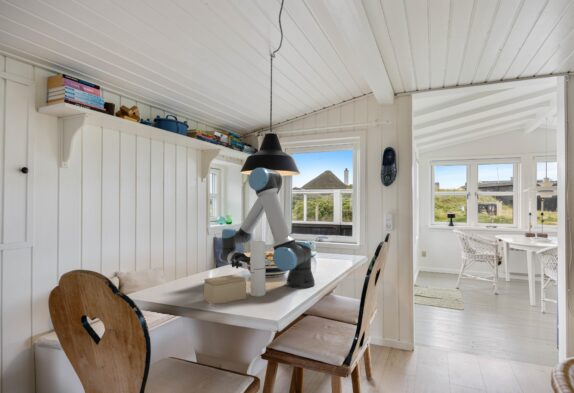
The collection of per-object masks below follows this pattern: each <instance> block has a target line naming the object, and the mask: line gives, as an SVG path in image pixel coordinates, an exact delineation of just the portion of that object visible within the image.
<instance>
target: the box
mask: <svg viewBox="0 0 574 393" xmlns="http://www.w3.org/2000/svg"><path fill="white" fill-rule="evenodd" d="M203 283H204V285H203V291H204V292H203V298H204V301H206V302H208V303H209V304H211V305H213V306H215V305H220V304H224V303H226V304H227V303H231V302H236V301H239V300H245V299H247V280H245V281H239V282H233V283H227V284H221V285H212V284H209V283H207V282H205V281H204V282H203Z"/></svg>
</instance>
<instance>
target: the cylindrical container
mask: <svg viewBox="0 0 574 393" xmlns="http://www.w3.org/2000/svg"><path fill="white" fill-rule="evenodd" d="M249 243H250V244H249V246H250V247H249V248H250V251H249V252H250V255H249V257H250V262H249V263H250V264H249V265H250V268H249V269H250V296H252V297H264V296H266V294H267V293H266V290H267V289H266V265H265V258H266V241H261V240H260V241H259V240H257V241H256V240H254V241H249Z"/></svg>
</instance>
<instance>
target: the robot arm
mask: <svg viewBox="0 0 574 393" xmlns="http://www.w3.org/2000/svg"><path fill="white" fill-rule="evenodd" d="M282 185H283V177H282V176H281V174H280V173H279V171H278V170H277V171H276V170H275V169H269V168H265V167H256V168H255V169H252V171H251V172H250V173H249V176H248V186H249V187H250V189H252V190H254V192H255V194H256V197H257V198H256V200H255V202H254V204H253V205H252V207H251V209H250V211H248V213H247V216H246V217H245V219H244V220H243V223H242V224H241V225H240V227H239V229H238V230H236V228H231V227H230V228H223V229H222V230H221V251H220V252H219V254H218V258H219V260H220V262H222V263H223V264H226V265H230V266H231V267H232V268H235V269H239V268H241V269H244V270H246V269H248V265H250V256H247V255H246V254H245V253H244V252H240V251H238V250H236V247H237V246H236V245H241V244H246V243H250V242H251V240H252V238H253V234H252V233H253V232H254V230H255V229H256V227H257V225H258V223H259V222H260V220H261V219H262V217H263V216H264V213H265V216H266V219H267V223H268V225H269V229H270V231H271V235H272V238H273V241H274V244H273V246H272V248H273V254H272V259H268V257H265V266H269V267H271V266H272V261H273V263H274V265H275V267H276V268H277V269H279V270H281V271H288V274H287V277H286V280H285V281H286V284H285V286H287V287H289V288H294V289H296V288H297V289H307V288H312V287H314V286H315V282H316V280H315V278H314V274H313V272H312V243H310V242H309V241H296V239H295V238H293V237H292V236H291V233H290V230H289V228H288V225H287V221H286V219H285V215H284V212H283V209H282V207H281V206H282V205H281V202H280V201H279V200H280V199H279V197H278V195H279V192H280V191H281V189H282Z"/></svg>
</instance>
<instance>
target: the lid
mask: <svg viewBox="0 0 574 393" xmlns="http://www.w3.org/2000/svg"><path fill="white" fill-rule="evenodd" d="M203 280H204V282H207V283H209V284H212V285H221V284H227V283H233V282H239V281H246V278H245V277H243V276H241V275H238V274H230V275H222V276H216V277H209V278H204V279H203Z"/></svg>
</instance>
